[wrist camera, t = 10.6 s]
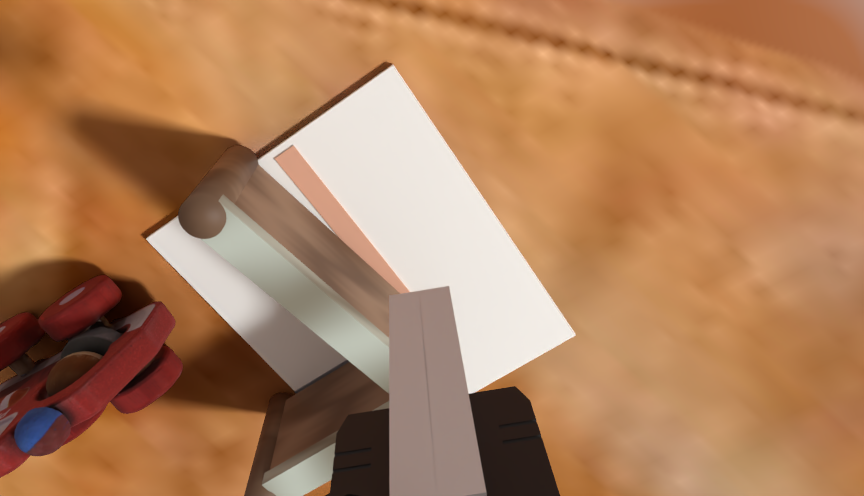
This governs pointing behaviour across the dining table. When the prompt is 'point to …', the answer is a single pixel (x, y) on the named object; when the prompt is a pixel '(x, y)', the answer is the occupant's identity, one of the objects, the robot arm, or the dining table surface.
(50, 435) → the toy fire truck
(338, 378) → the fence fixed section
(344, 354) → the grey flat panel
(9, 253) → the dining table surface
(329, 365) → the card
